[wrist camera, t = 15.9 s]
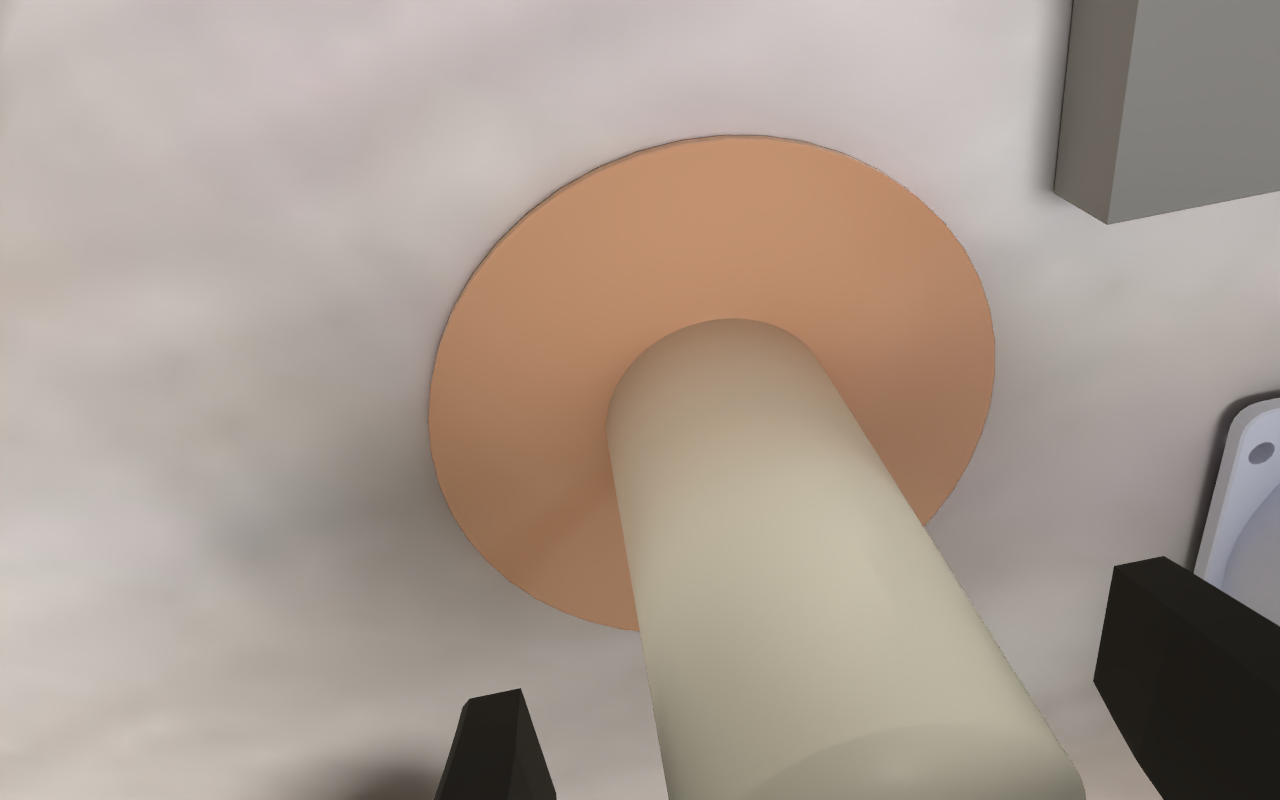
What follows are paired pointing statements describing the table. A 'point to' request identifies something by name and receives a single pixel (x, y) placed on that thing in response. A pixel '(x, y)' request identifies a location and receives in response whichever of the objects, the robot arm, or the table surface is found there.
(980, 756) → the plug
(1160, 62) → the collar block
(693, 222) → the coaster
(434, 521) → the table surface
